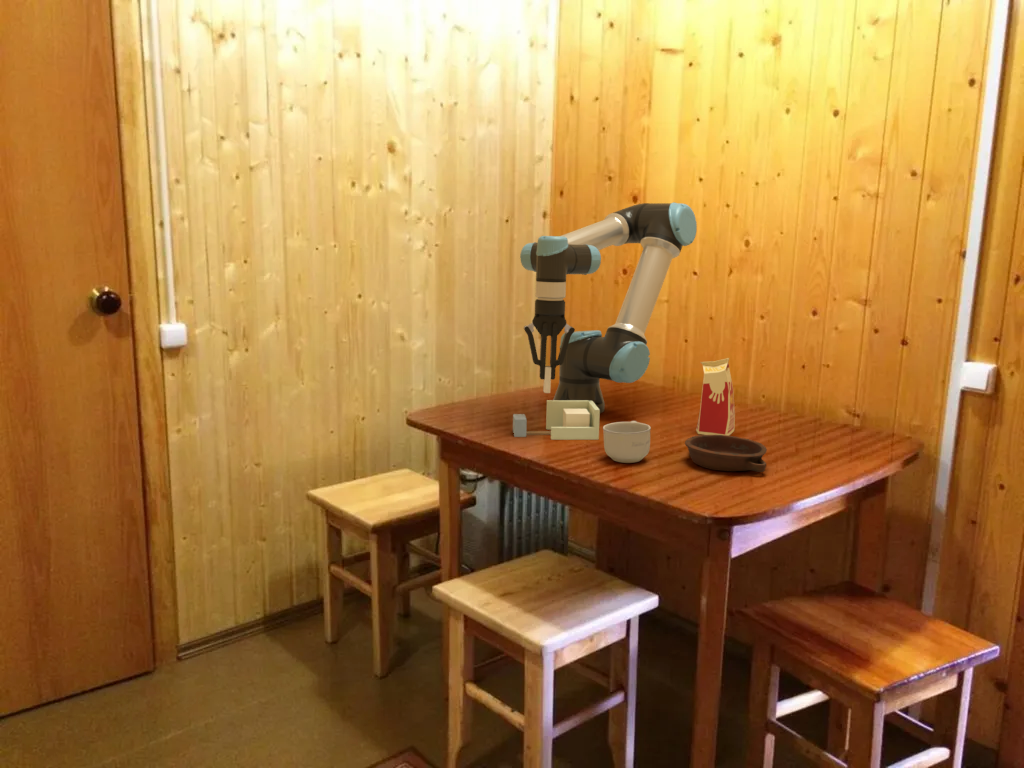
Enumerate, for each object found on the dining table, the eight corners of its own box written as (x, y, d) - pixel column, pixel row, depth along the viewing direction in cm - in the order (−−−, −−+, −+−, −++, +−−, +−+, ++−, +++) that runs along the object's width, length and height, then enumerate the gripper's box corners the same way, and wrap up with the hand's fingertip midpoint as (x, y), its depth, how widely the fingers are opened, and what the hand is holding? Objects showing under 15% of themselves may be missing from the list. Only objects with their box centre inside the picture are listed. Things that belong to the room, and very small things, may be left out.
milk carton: (734, 430, 215) (739, 356, 211) (728, 438, 207) (733, 361, 203) (700, 426, 219) (704, 353, 215) (692, 433, 211) (697, 358, 207)
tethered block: (585, 431, 211) (586, 408, 210) (588, 436, 205) (589, 413, 204) (512, 430, 210) (513, 408, 209) (514, 436, 204) (514, 413, 203)
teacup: (637, 469, 179) (639, 434, 177) (593, 461, 184) (595, 427, 183) (661, 455, 190) (663, 422, 189) (619, 447, 196) (620, 415, 194)
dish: (734, 484, 170) (736, 461, 169) (661, 458, 188) (662, 437, 187) (788, 471, 180) (790, 450, 179) (714, 448, 198) (715, 428, 197)
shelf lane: (591, 428, 214) (592, 400, 213) (598, 439, 203) (599, 410, 201) (546, 428, 213) (546, 400, 212) (551, 439, 202) (552, 409, 201)
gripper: (574, 298, 205) (570, 389, 209) (522, 297, 204) (519, 388, 208) (578, 300, 198) (574, 395, 202) (525, 299, 197) (522, 394, 201)
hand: (546, 391), depth 205 cm, fingers closed
